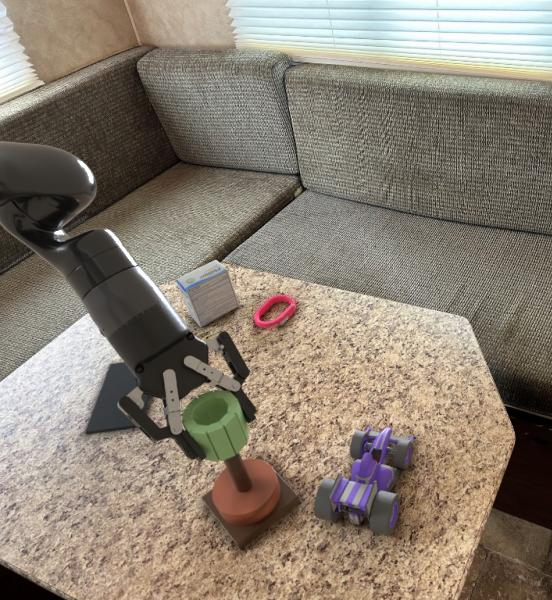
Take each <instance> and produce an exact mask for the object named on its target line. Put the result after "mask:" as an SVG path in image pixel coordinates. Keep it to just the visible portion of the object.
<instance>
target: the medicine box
mask: <svg viewBox="0 0 552 600" xmlns="http://www.w3.org/2000/svg"><path fill="white" fill-rule="evenodd" d="M175 282H176V285H177V287H178V289H179V293H180V294H181V297H182V299H183V301H184V305H185V306H186V308H187V311H188V314H189V315H190V317H191V318H192V319H193V320H194V321H195V323H196V324H197V325H198V326H199V327H200V328H202V327H204V326H206V325H208V324H210V323H212V322H213V321H215V320H217V319H219V318H220V317H222V316H224V315H226V314H228V313H230V312H232V311H233V310H235V309H237V308H239V307H240V306H241V304H240V302H239V299H238V296H237V293H236V290H235V288H234V284H233V282H232V277H231V275H230V273H229V270H228V268H226V267H225V266H224V265H223V264H222V263H220V261H218V260H217V259H214V260H212V261H210V262H208V263H205V264H204V265H202V266H199V267H197V268H196V269H193V270H191V271H190V272H187V273H186V274H183V275H181V276H179V277H178V278H176V279H175Z"/></svg>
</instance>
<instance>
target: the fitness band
mask: <svg viewBox="0 0 552 600" xmlns="http://www.w3.org/2000/svg"><path fill="white" fill-rule="evenodd" d="M279 302H280V303H281V302H287V303H289V304H290V305H288V307H287V308H286V309H285V310H284V311H283V312H282V313H281V314H280V315H279V316H278V317H276V318H275V319H272V320H270V321H262V320H261V317H262V316H263V315H264V314H265V313H266V312H267V311H268V310H269V309H270V308H271V307H272V306H273V305H275V304H277V303H279ZM296 309H297V304H296V301H295V300H294V299H293V298H292V297H291V296H289V295H286V294H277V295H276V294H275V295H273V296H271V297H269V298H268V299H267V300H265V301H264V302H263V303H262V304H261V305H260V306H259V307H258V308H257V310H256V311H255V313H254V315H253V320H254V323H255V324H256V326H257V327H259V328H265V329H266V328H270V327H275V326H276V325H278V326H280V327H282V326H284V324H285V323H286V322H287V321H288V320H289V319H290V318H291V317H292V315H294V314H295V311H296Z"/></svg>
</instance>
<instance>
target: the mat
mask: <svg viewBox="0 0 552 600" xmlns="http://www.w3.org/2000/svg"><path fill="white" fill-rule="evenodd" d="M136 387H137V385H136V379H135V376H134V375H133V373H132V372H131V371H130V369H129V368H128V367H127V365H126V364H125V363H124V361H122V362H115V363H110V365H109V367H108V370H107V373H106V375H105V378H104V380H103V384H102V386H101V388H100V392H99V394H98V397H97V399H96V402H95V404H94V407H93V410H92V412H91V415H90V418H89V421H88V424H87V425H86V428H85V434H86V435H92V434H98V433H99V434H100V433H107V432H112V431H113V432H114V431H120V430H121V431H122V430H127V429H136V428H137V429H138V427H137V426H136V425H135V424H134V423H133V422H132V421H131V420H130V419H129V418H128V417H127V416H126V415H125V414H124V413H123V412H122V411H121V410H120V409H119V408H118V406H117V404H118V402H119V400H120V398H121V397H123V396H127V395H128V394H129V393H130V392H131V391H133V390H134V389H135V388H136ZM150 397H151V396H150V395H146V394H142V396H141V398H142V400H143V402H144V406H143V408H142V410H143V411H144V412H145V413H146V411H147V407H148V404H149V400H150Z"/></svg>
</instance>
